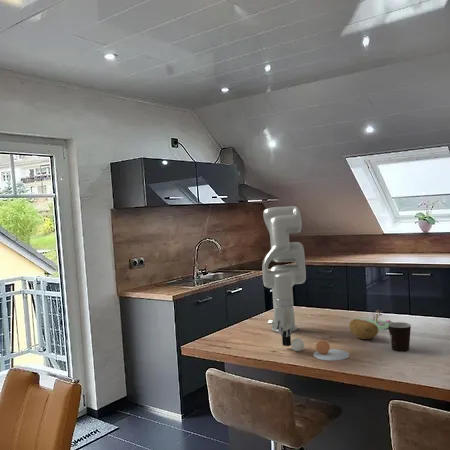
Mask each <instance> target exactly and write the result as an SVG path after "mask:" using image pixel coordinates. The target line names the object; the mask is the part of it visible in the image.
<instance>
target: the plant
mask: <svg viewBox="0 0 450 450" xmlns="http://www.w3.org/2000/svg"><path fill="white" fill-rule="evenodd" d="M382 315H383V311H378V310H375V313H374V312H372V319H369V318H359V317H358V318H357V317H356V318H354V319H360V320H365V321H368V322H371V323H374V324H375V325H376V326H377V327H378V331H383V329H384V330H386V329H389V328H388V324H389V323H394V322H393V321H392V320H391V319H385V320H381V319H379V317H381V316H382Z"/></svg>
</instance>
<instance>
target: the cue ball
mask: <svg viewBox="0 0 450 450" xmlns="http://www.w3.org/2000/svg"><path fill="white" fill-rule="evenodd" d="M290 347H291V349H292V350H293V351H295V352H301V351H303V349H304V348H305V342H304V340H303V339H301V338H299V337H295V338H293V339H291V345H290Z"/></svg>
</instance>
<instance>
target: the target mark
mask: <svg viewBox="0 0 450 450" xmlns="http://www.w3.org/2000/svg"><path fill="white" fill-rule="evenodd" d="M313 357H314V358H316V359H318V360H321V361H328V362H329V361H330V362H333V361H334V362H335V361H342V360H346V359H348V358H349V357H350V353H349V352H348V351H347V350H343V349H335V348H330V349H329V352H328V353H326V354H320V353H319V352H318V351H317V350H316V351H315V352H313Z"/></svg>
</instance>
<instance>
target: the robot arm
mask: <svg viewBox="0 0 450 450" xmlns="http://www.w3.org/2000/svg"><path fill="white" fill-rule="evenodd" d="M262 213H263V214H262V215H263V220H264V223H265V226H266V228H267V231H268V233H269V239H270V240H269V242H270V250H269V252H267V253H266V255H265V256H264V259H263V260H262V265H261V267H262V270H261V272H262V282H263V286H264V287H265V288H266V289H271V292H272V293H271V294H272V305H273V319H268V320H267V321H268V322H267V325H271V331H272V332H274V333H278V335H281V340H282V343H281V344H282V346H284V347H291V342H292V339H291V337H292V336H291V335H292V332H295V331H297V330H298V326H297V325H296V322H295V321H296V317H295V316H296V315H295V310H294V293H293V292H294V291H293V287H294V286H295V285H301V284H305V282H306V280H307V271H306V270H307V269H306V258H305V256H306V255H305V248H304V245H303V244H302V243H301V242H298V241H293V242H292V241H291V242H290V235H291V234H298V233H301V231H302V227H303V226H302V225H303V222H302V221H303V220H302V216H301V212H300V208H299V207H297V206H296V205H289V206H275V207H274V206H273V207H269V208H265V209H264V210H263V212H262ZM271 261H274V263H290V262H291V263H295V264H277V265H273V266H272V267H271V268H270V269H269V265H270V263H271Z"/></svg>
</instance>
